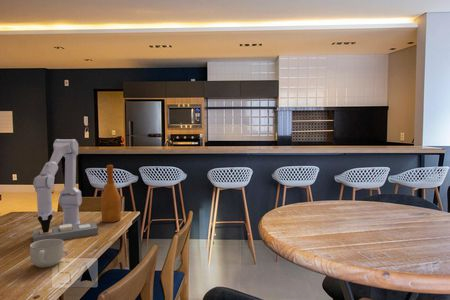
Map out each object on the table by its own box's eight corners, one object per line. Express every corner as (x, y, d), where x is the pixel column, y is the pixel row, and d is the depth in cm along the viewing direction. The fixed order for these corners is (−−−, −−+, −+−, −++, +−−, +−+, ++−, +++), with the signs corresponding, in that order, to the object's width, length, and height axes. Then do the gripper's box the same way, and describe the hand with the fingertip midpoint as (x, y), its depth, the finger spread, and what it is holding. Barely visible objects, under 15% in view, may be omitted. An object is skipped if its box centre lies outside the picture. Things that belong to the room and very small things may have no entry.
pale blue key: (78, 229, 153) (78, 225, 152) (89, 227, 155) (89, 223, 155) (79, 232, 148) (79, 228, 148) (91, 230, 151) (91, 226, 151)
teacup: (39, 258, 121) (38, 238, 121) (69, 257, 122) (68, 237, 122) (19, 275, 107) (18, 252, 107) (53, 274, 108) (52, 251, 108)
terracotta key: (39, 235, 144) (39, 231, 144) (52, 233, 147) (52, 229, 147) (39, 238, 140) (39, 234, 140) (52, 236, 143) (52, 232, 143)
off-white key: (59, 229, 148) (59, 225, 148) (71, 227, 151) (71, 223, 151) (60, 232, 144) (60, 228, 144) (72, 230, 147) (72, 226, 147)
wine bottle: (116, 216, 178) (114, 163, 176) (124, 220, 171) (122, 164, 169) (98, 220, 172) (96, 164, 169) (106, 224, 164) (104, 166, 162)
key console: (33, 236, 146) (33, 230, 146) (94, 227, 159) (93, 221, 159) (33, 244, 136) (32, 237, 136) (98, 234, 149) (97, 227, 149)
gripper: (54, 204, 138) (56, 235, 139) (54, 198, 151) (55, 226, 152) (36, 206, 135) (37, 237, 136) (37, 199, 147) (38, 228, 148)
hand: (45, 231), depth 143 cm, fingers closed, pressing on terracotta key
